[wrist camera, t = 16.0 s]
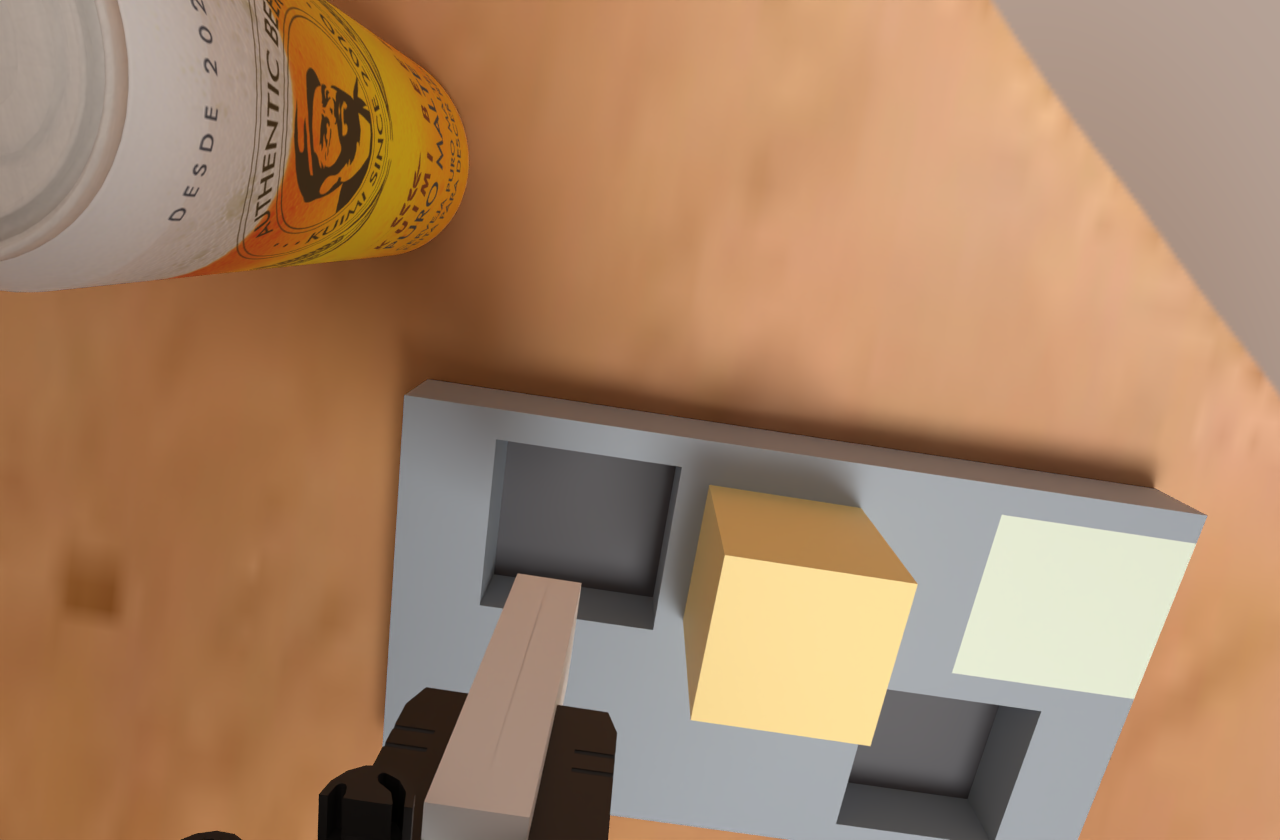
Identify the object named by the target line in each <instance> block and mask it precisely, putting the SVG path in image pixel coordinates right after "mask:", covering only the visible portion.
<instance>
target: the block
mask: <svg viewBox="0 0 1280 840" xmlns="http://www.w3.org/2000/svg"><path fill="white" fill-rule="evenodd" d="M917 585H918V584H917V582H916V581H915V580H914V578H913V577H912V576H911V574H910V573H909V572H908V570H907V569H906V567H905V566H904V565H903V563H902V562H901V561H900V559H899V558H898V557H897V555H896V554H895V553H894V551H893V550H892V549H891V547H890V546H889V545H888V543H887V542H886V541H885V539H884V538H883V537H882V535H881V534H880V533H879V531H878V530H877V529H876V527H875V526H874V525H873V523H872V522H871V521H870V519H869V518H868V517H867V515H866V514H865V513H864V511H863V510H862V509H861V508H858V507H851V506H845V505H838V504H832V503H825V502H819V501H812V500H806V499H799V498H793V497H786V496H780V495H773V494H766V493H760V492H753V491H747V490H740V489H734V488H727V487H721V486H714V485H709V489H708V494H707V499H706V504H705V509H704V514H703V520H702V525H701V530H700V535H699V540H698V545H697V550H696V556H695V561H694V566H693V571H692V576H691V581H690V586H689V591H688V597H687V602H686V607H685V612H684V617H683V628H684V641H685V654H686V667H687V680H688V693H689V706H690V719H691V720H693V721H700V722H707V723H714V724H721V725H727V726H734V727H741V728H748V729H755V730H762V731H769V732H776V733H783V734H790V735H797V736H804V737H811V738H817V739H824V740H831V741H838V742H845V743H852V744H859V745H866V746H871V742H872V739H873V736H874V732H875V729H876V725H877V722H878V719H879V715H880V712H881V708H882V705H883V701H884V698H885V695H886V691H887V688H888V684H889V681H890V678H891V674H892V671H893V667H894V664H895V661H896V657H897V654H898V650H899V647H900V643H901V640H902V637H903V633H904V630H905V626H906V623H907V620H908V616H909V613H910V609H911V606H912V603H913V599H914V596H915V592H916V589H917Z"/></svg>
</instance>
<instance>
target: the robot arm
mask: <svg viewBox="0 0 1280 840" xmlns="http://www.w3.org/2000/svg"><path fill="white" fill-rule="evenodd" d="M581 584H582V583H578V582H572V581H565V580H558V579H552V578H545V577H538V576H532V575H525V574H519V573H518V574H517V576H516V579H515V581H514V583H513V586H512V588H511V591H510V593H509V596H508V598H507V600H506V603H505V605H504V608H503V610H502V613H501V615H500V618H499V620H498V622H497V625H496V627H495V630H494V632H493V635H492V637H491V640H490V642H489V644H488V647H487V649H486V652H485V654H484V657H483V659H482V662H481V664H480V666H479V669H478V671H477V674H476V676H475V679H474V681H473V684H472V686H471V688H470V691H469V693H463V692H456V691H449V690H442V689H436V688H429V687H426V688H424V689H423V690H422V691H421V692H419V693H418V694H417V695H416V696H415V697H413V698H412V699H411V700H410V701H408V702H407V703H406V704H405V706H404V708H403V710H402V712H401V714H400V715H399V717H398V719H397V721H396V723H395V726H394V729H392V731H391V732H390V734H389V736H388V738H387V740H386V742H385V746H383V747H382V749H381V751H380V753H379V755H378V757H377V759H376V761H375V763H374V764H373V766H363V767H359V768H356V769H352V770H349V771H346V772H345V773H343V774H341V775H340V776H338V777H336V778H335V779H333V780H331V781H330V782H329V784H328V785H327V786H326V787H325V788H324V789H323V790H322V792H321V793H320V794H319V813H318V840H608V833H609V821H610V810H611V799H612V787H613V775H614V764H615V753H616V741H617V731H616V729H615V727H614V724H613V722H612V720H611V717H610V715H609V713H608V712H603V711H596V710H590V709H583V708H576V707H569V706H563V702H564V697H565V692H566V687H567V682H568V675H569V668H570V661H571V654H572V647H573V640H574V633H575V626H576V619H577V612H578V605H579V598H580V591H581ZM181 840H242V839H240V838H239V837H238V836H236V835H235V834H231V833H226V832H220V831H212V832H205V833H197V834H194V835H191V836H189V837H186V838H184V839H181Z"/></svg>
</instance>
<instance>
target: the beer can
mask: <svg viewBox="0 0 1280 840" xmlns="http://www.w3.org/2000/svg"><path fill="white" fill-rule="evenodd" d="M468 172H469V151H468V143H467V138H466V134H465V130H464V127H463V124H462V121H461V118H460V116H459V114H458V112H457V109H456V107H455V105H454V104H453V102H452V100H451V99H450V97H449V96H448V94H447V93H446V92H445V90H444V89H443V88H442V86H441V85H440V84H439V83H438V82H437V81H436V80H435V79H434V78H433V76H431V75H430V74H429V73H428V72H427V71H426V70H424V69H423V68H422V67H421V66H419V65H418V64H416V63H415V62H413V61H412V60H411V59H409V58H408V57H406V56H405V55H403V54H402V53H401V52H399V51H398V50H396V49H395V48H393V47H392V46H391V45H389V44H388V43H386V42H385V41H383V40H382V39H381V38H379V37H378V36H376V35H375V34H373V33H372V32H371V31H369V30H368V29H366V28H365V27H363V26H362V25H361V24H359V23H358V22H356V21H355V20H353V19H352V18H351V17H349V16H348V15H346V14H345V13H343V12H342V11H341V10H339V9H338V8H336V7H335V6H333V5H332V4H331V3H329V2H328V1H326V0H0V290H1V291H9V292H46V291H56V290H65V289H75V288H85V287H94V286H104V285H114V284H123V283H133V282H142V281H152V280H162V279H171V278H181V277H191V276H200V275H210V274H219V273H229V272H239V271H248V270H258V269H268V268H277V267H287V266H297V265H306V264H316V263H325V262H335V261H345V260H354V259H364V258H374V257H383V256H392V255H398V254H402V253H406V252H409V251H412V250H414V249H417V248H419V247H421V246H423V245H424V244H426V243H428V242H429V241H431V240H432V239H433V238H435V237H436V236H437V235H438V234H439V233H440V232H441V231H442V230H443V229H444V228H445V227H446V226H447V225H448V223H449V222H450V221H451V220H452V218H453V216H454V215H455V213H456V212H457V210H458V208H459V206H460V203H461V201H462V199H463V196H464V193H465V189H466V185H467V180H468Z"/></svg>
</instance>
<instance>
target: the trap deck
mask: <svg viewBox="0 0 1280 840" xmlns="http://www.w3.org/2000/svg"><path fill="white" fill-rule="evenodd" d="M709 485H714V486H721V487H727V488H734V489H740V490H747V491H753V492H760V493H766V494H773V495H780V496H786V497H793V498H799V499H806V500H812V501H819V502H825V503H832V504H838V505H845V506H851V507H858V508H861V509H862V510H863V511H864V513H865V514H866V515H867V517H868V518H869V519H870V521H871V522H872V523H873V525H874V526H875V527H876V529H877V530H878V531H879V533H880V534H881V535H882V537H883V538H884V539H885V541H886V542H887V543H888V545H889V546H890V547H891V549H892V550H893V551H894V553H895V554H896V555H897V557H898V558H899V559H900V561H901V562H902V563H903V565H904V566H905V567H906V569H907V570H908V572H909V573H910V574H911V576H912V577H913V578H914V580H915V581H916V582H917V584H918V585H917V589H916V592H915V596H914V599H913V603H912V606H911V609H910V613H909V616H908V620H907V623H906V626H905V630H904V633H903V637H902V640H901V643H900V647H899V650H898V654H897V657H896V661H895V664H894V667H893V671H892V674H891V678H890V681H889V684H888V688H887V691H886V695H885V698H884V701H883V705H882V708H881V712H880V715H879V719H878V722H877V725H876V729H875V732H874V736H873V739H872V742H871V746H866V745H859V744H852V743H845V742H838V741H831V740H824V739H817V738H811V737H804V736H797V735H790V734H783V733H776V732H769V731H762V730H755V729H748V728H741V727H734V726H727V725H721V724H714V723H707V722H700V721H693V720H691V719H690V706H689V693H688V680H687V667H686V654H685V641H684V628H683V617H684V612H685V607H686V602H687V597H688V591H689V586H690V581H691V576H692V571H693V566H694V561H695V556H696V550H697V545H698V540H699V535H700V530H701V525H702V520H703V514H704V509H705V504H706V499H707V494H708V489H709ZM1206 518H1207V515H1205V514H1203V513H1201V512H1199V511H1197V510H1196V509H1194V508H1192V507H1190V506H1188V505H1186V504H1184V503H1182V502H1180V501H1178V500H1176V499H1174V498H1172V497H1170V496H1168V495H1167V494H1165V493H1163V492H1161V491H1159V490H1157V489H1154V488H1147V487H1141V486H1134V485H1127V484H1121V483H1114V482H1107V481H1101V480H1094V479H1088V478H1081V477H1074V476H1068V475H1061V474H1054V473H1048V472H1041V471H1034V470H1028V469H1021V468H1015V467H1008V466H1001V465H995V464H988V463H981V462H975V461H968V460H962V459H955V458H948V457H942V456H935V455H928V454H922V453H915V452H908V451H902V450H895V449H889V448H882V447H875V446H869V445H862V444H855V443H849V442H842V441H836V440H829V439H822V438H816V437H809V436H802V435H796V434H789V433H782V432H776V431H769V430H763V429H756V428H749V427H743V426H736V425H729V424H723V423H716V422H710V421H703V420H696V419H690V418H683V417H676V416H670V415H663V414H656V413H650V412H643V411H637V410H630V409H623V408H617V407H610V406H603V405H597V404H590V403H584V402H577V401H570V400H564V399H557V398H550V397H544V396H537V395H530V394H524V393H517V392H511V391H504V390H497V389H491V388H484V387H477V386H471V385H464V384H458V383H451V382H444V381H438V380H431V379H427V380H426V381H424V382H423V383H421V384H420V385H419V386H417V387H416V388H414V389H413V390H411V391H410V392H408V393H407V394H405V395H404V407H403V424H402V440H401V456H400V472H399V489H398V505H397V521H396V537H395V554H394V570H393V586H392V602H391V618H390V635H389V651H388V667H387V683H386V700H385V716H384V732H383V746H385V742H386V740H387V738H388V736H389V734H390V732H391V731H392V729H394V726H395V723H396V721H397V719H398V717H399V715H400V714H401V712H402V710H403V708H404V706H405V704H406V703H407V702H408V701H410V700H411V699H412V698H413V697H415V696H416V695H417V694H418V693H419V692H421V691H422V690H423V689H424V688H426V687H429V688H436V689H442V690H449V691H456V692H463V693H469V691H470V688H471V686H472V684H473V681H474V679H475V676H476V674H477V671H478V669H479V666H480V664H481V662H482V659H483V657H484V654H485V652H486V649H487V647H488V644H489V642H490V640H491V637H492V635H493V632H494V630H495V627H496V625H497V622H498V620H499V618H500V615H501V613H502V610H503V608H504V605H505V603H506V600H507V598H508V596H509V593H510V591H511V588H512V586H513V583H514V581H515V579H516V576H517V574H518V573H519V574H525V575H532V576H538V577H545V578H552V579H558V580H565V581H572V582H578V583H582V584H581V591H580V598H579V605H578V612H577V619H576V626H575V633H574V640H573V647H572V654H571V661H570V668H569V675H568V682H567V687H566V692H565V697H564V702H563V706H569V707H576V708H583V709H590V710H596V711H603V712H608V713H609V715H610V717H611V720H612V722H613V724H614V727H615V729H616V731H617V741H616V753H615V764H614V775H613V787H612V799H611V810H610V815H613V816H620V817H628V818H635V819H642V820H650V821H657V822H664V823H672V824H679V825H686V826H694V827H701V828H708V829H715V830H723V831H730V832H737V833H745V834H752V835H759V836H767V837H774V838H781V839H788V840H1078V837H1079V835H1080V832H1081V830H1082V827H1083V825H1084V822H1085V820H1086V817H1087V815H1088V812H1089V810H1090V807H1091V805H1092V802H1093V800H1094V797H1095V795H1096V792H1097V790H1098V787H1099V785H1100V782H1101V780H1102V777H1103V775H1104V772H1105V770H1106V767H1107V765H1108V762H1109V760H1110V757H1111V755H1112V752H1113V750H1114V747H1115V745H1116V742H1117V740H1118V737H1119V735H1120V732H1121V730H1122V727H1123V725H1124V722H1125V720H1126V718H1127V715H1128V713H1129V710H1130V708H1131V705H1132V703H1133V700H1134V698H1135V695H1136V693H1137V690H1138V688H1139V685H1140V683H1141V680H1142V678H1143V675H1144V673H1145V670H1146V668H1147V665H1148V663H1149V660H1150V658H1151V655H1152V653H1153V650H1154V648H1155V645H1156V643H1157V640H1158V638H1159V635H1160V633H1161V630H1162V628H1163V625H1164V623H1165V620H1166V618H1167V615H1168V613H1169V610H1170V608H1171V605H1172V603H1173V600H1174V598H1175V595H1176V593H1177V590H1178V588H1179V585H1180V583H1181V580H1182V578H1183V575H1184V573H1185V570H1186V568H1187V565H1188V563H1189V560H1190V558H1191V555H1192V553H1193V550H1194V548H1195V545H1196V543H1197V540H1198V538H1199V535H1200V533H1201V530H1202V528H1203V525H1204V523H1205V520H1206Z"/></svg>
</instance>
